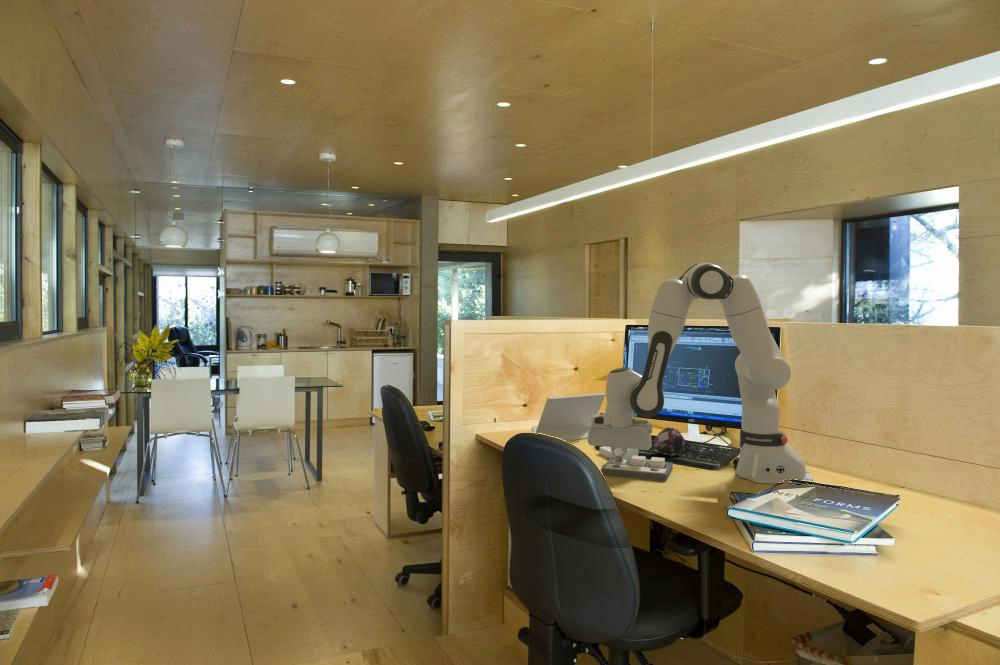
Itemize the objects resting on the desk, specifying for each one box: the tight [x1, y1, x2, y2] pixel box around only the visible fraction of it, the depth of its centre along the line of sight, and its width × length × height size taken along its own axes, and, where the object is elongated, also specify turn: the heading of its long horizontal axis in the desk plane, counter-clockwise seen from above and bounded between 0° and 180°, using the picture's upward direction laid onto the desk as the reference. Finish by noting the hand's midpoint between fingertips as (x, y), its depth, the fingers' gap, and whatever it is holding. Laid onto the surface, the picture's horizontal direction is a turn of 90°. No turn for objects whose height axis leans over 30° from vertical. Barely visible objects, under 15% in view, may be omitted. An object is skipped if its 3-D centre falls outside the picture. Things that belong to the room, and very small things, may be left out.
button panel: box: [600, 457, 674, 482], centre depth 223 cm, size 20×14×3 cm
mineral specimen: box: [653, 427, 686, 454], centre depth 247 cm, size 10×10×10 cm
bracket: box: [599, 446, 639, 459], centre depth 242 cm, size 13×7×8 cm, turn 24°
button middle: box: [631, 455, 647, 467], centre depth 225 cm, size 4×4×2 cm
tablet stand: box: [531, 392, 606, 442], centre depth 279 cm, size 18×25×17 cm
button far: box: [612, 460, 627, 465], centre depth 227 cm, size 4×4×2 cm
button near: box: [649, 456, 666, 469], centre depth 222 cm, size 4×4×2 cm
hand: (619, 460), depth 227 cm, fingers closed, pressing on button far
